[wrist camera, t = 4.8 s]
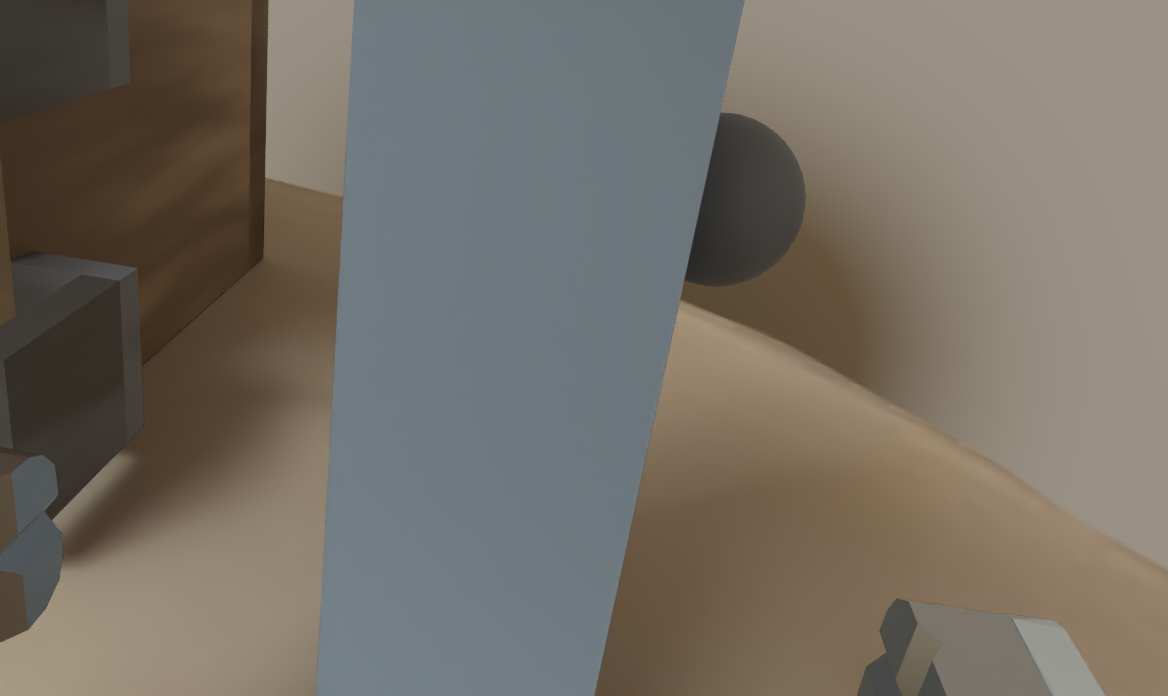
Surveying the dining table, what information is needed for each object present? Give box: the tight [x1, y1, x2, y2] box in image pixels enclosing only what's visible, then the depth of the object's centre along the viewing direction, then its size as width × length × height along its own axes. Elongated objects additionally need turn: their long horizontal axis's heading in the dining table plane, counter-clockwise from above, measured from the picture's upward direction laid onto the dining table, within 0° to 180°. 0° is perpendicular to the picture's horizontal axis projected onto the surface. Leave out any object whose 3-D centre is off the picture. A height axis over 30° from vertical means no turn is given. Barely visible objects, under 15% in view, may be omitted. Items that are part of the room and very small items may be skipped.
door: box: [316, 0, 806, 696], centre depth 14 cm, size 10×4×14 cm, turn 177°
